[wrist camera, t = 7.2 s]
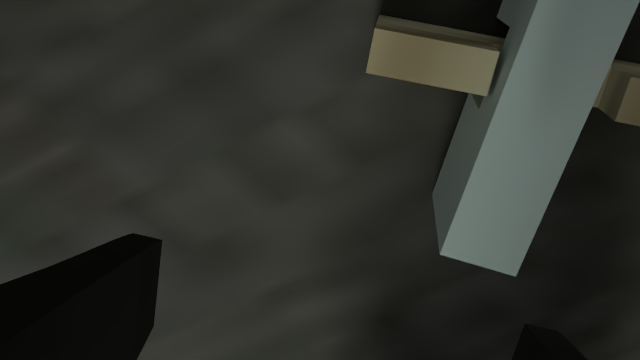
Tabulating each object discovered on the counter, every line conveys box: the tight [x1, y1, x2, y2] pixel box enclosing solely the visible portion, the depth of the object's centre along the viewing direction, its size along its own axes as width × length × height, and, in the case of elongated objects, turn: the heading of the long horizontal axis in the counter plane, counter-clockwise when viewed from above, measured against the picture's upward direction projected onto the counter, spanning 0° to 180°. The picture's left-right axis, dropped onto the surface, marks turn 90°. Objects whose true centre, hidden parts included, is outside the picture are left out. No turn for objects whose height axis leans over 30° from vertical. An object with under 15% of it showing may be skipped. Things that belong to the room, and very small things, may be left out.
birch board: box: [366, 15, 640, 126], centre depth 17 cm, size 10×1×4 cm, turn 80°
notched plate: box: [432, 0, 640, 277], centre depth 17 cm, size 10×2×4 cm, turn 165°
